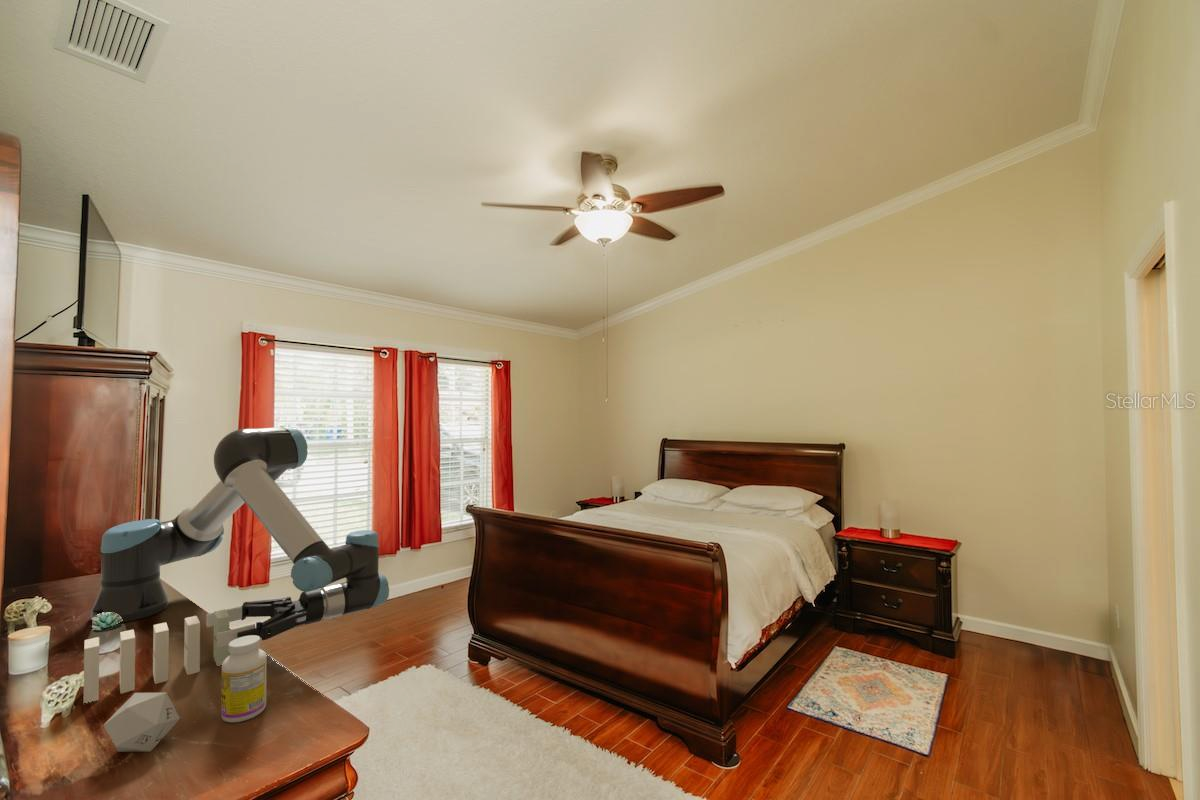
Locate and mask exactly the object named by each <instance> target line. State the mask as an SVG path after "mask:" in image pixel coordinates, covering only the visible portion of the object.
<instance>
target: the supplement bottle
mask: <svg viewBox="0 0 1200 800" xmlns="http://www.w3.org/2000/svg"><path fill="white" fill-rule="evenodd" d="M260 647H261V638H260V637H259V636H256V635H249V636H244V637H240V638H237V639H234V640H233V641H231V642H230V643H229V648H228V651H229V656H228V657H227V658H226V659H225V660H224V661H223V663H222V666H221V688H220V689H221V692H220V695H221V696H220V697H221V699H220V701H221V702H220V703H221V704H220V705H221V706H220V709H221V711H220V712H221V715H220V716H221V719H222V721H224V722H226V723H230V724H231V723H235V724H236V723H240V722H245V721H248V720H251V719H253V718H255V717H257V716H258V715H259V714H261V713H262V712H263V711H264V710H265V708H266V706H267V653H266V651H264V650H263V649H261V648H260Z"/></svg>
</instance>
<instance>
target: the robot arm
mask: <svg viewBox="0 0 1200 800" xmlns="http://www.w3.org/2000/svg"><path fill="white" fill-rule="evenodd" d="M213 453H214V454H213V465H214V466H213V467H214V469H215V471H216V475H217V476H218V478H219V480H220V481H219V482H218V483H216V484H215V485H214V487H213V488H212V489H211V490H209V492H208V493H206V495H205V496H203V497H202V499H201V500H200V501H199V502H198V503H197V504H196V505H193V506H188V507H186V508H185V509H183V510H182V511H181V512H180V513H179V514H178V515H177V516H176V517H175V518H173V519H172V520H168V521H162V522H161V520H159V519H158V518H145V519H139V520H133V521H129V522H124V523H120V524H118V525H115V526H112V527H110V528H108V529H107V530H106V531H105V532H104V533H103V535H102V538H101V545H100V549H99V550H100V554H101V555H100V589H99V592H98V595H97V597H96V599H95V602H94V604H93V607H92V609H91V612H90V621H91V620H92V618H93V617H94V616H95V615H97V614H99V613H102V612H115V613H117V614H119V615H120V616H121V617H122V619H123V621H124V622H123V623H127V622H133V621H137V620H142V619H144V618H148V617H150V616H154V615H157V614H159V613H161V612H163V611H164V610H166V609H167V608H168V606H169V598H168V594H167V592H166V590H165V587H164V585H163V583H162V581H161V566H165V565H168V564H171V563H175V562H180V561H183V560H188V559H191V558H197V557H201V556H204V555H206V554H209V553H211V552H213V551H214V550H216V549H217V548H218V547H219V546H220V544H221V543H222V541H223V539H224V538H223V535H224V534H225V529H224V523H225V522H226V521H228V519H230V518H231V516H233V514H235V513H236V512H237V511H238V509H240V508H241V507H242V506H243V505H244V504H245V505H246V506H247V507H248V508H249V509H250V511H251V512H252V513H253V515H254V516H255V517H256V518H257V520H258V521H259V522H260V523H261V525H262V526H263V527H264V528H265V529H266V531H267V532H268V533H269V535H270V536H271V537H272V538H273V540H274V541H275V542H276V543H277V545H278V546H279V547H280V548H281V549H282V551H283V552H284V553H285V555H286V556H287V557H288V558H289V559H290V561H291V562H292V563H293V565H292V568H291V569H290V578H292V584H293V586H294V587H295V588H296V589H297V590H299V591H300V592H301V593H300V596H299V598H298V599H297V600H292V596H286V597H283V598H274V599H263V600H253V601H245V602H243V603H242V605H241V606H238V607H234V608H233V607H231V608H229V609H225V610H226V611H227V613H228V615H229V623H231V622H235V621H240V620H241V621H244V620H246V619H247V618H250V617H253V618H257V617H259V618H260V617H269V618H268V619H266V620H264V621H256V623H252V624H249V625H244V626H241V627H240V626H239V627H237V628H232V629H229V630H228V631H223V632H219V633H217V648H218V647H222V646H226V645H229V643H230V642H231V641H233V640H234V639H237V638H240V637H244V636H249V635H256V636H259V637H260V639H261V641H267V640H269V639H271V638H274V637H275V636H278V635H280V634H282V633H284V632H287V631H289V630H291V629H294V628H295V627H299V626H301V625H311V624H313V623H314V624H315V623H317V622H321V620H322V619H323V620H329V619H331V620H335V619H336V618H337V617H340V616H344V615H347V614H351V613H356V612H360V611H365V610H370V609H374V608H375V607H379V606H381V605H384V604H385V603H386V602H387V601H388V599H389V595H390V586H389V581H388V579H387V577H386V576H385V575H384V574H380V573H379V560H380V559H379V554H380V553H379V551H380V545H379V534H378V533H377V531H375V530H370V529H369V530H367V529H366V530H365V529H364V530H363V529H362V530H356V531H355V530H354V531H351V532H349V533H348V534H347V535H346V538H345V544H343V545H339V546H337V547H333V548H330V547H329V546H328V545H327V543H326V542H325V541H324V540H323V539H322V537H321V536H320V535H319V533H317V531H316V530H315V529H314V528H313V526H312V525H311V524H310V523H309V522H308V521H307V519H306V518H305V517H304V515H303V514H302V513H301V511H300V510H299V509H298V508H297V507H296V505H295V504H294V503H293V502H292V500H291V499H290V498H289V497H288V495H286V493H285V492H284V490H283V489H282V488H281V487H280V486H279V484H278V483H277V482H276V480H277V479H278V478H280V477H281V476H282V475H283V474H284V473H285V472H286V471H288V470H294V469H297V468H299V467H302V466H303V465H304V463H305V462H306V460H307V457H308V442H307V440H306V437H305V436H304V434H303V433H302V432H301V431H300V430H299V429H297V428H294V427H291V426H290V427H289V426H288V427H287V426H279V427H278V426H275V427H258V428H250V427H249V428H240V429H236V430H233V431H231V432H230V433H228V434H226V435H225V436H224V437H222V439H221V440H220V441H219V442H218V444H217V446H216V448H215V450H214V452H213ZM343 579H346V580H345V582H342V583H341V582H340V583H335V582H338V581H339V580H343ZM333 583H335V584H333ZM205 626H206V628H210V627H214V612H209V613H207V614H206V625H205Z"/></svg>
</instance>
